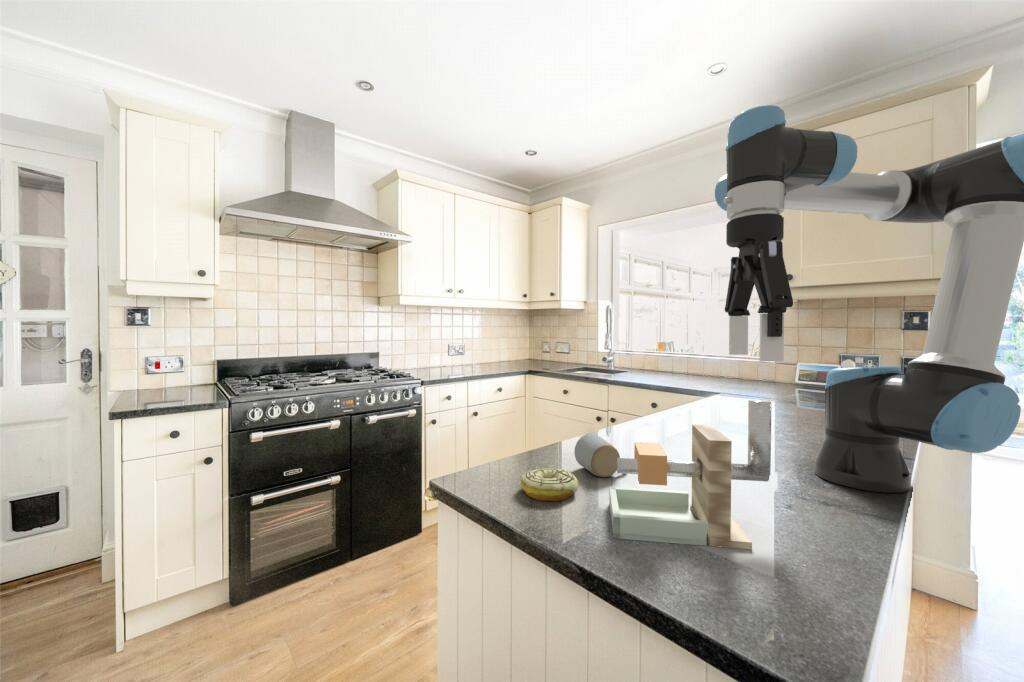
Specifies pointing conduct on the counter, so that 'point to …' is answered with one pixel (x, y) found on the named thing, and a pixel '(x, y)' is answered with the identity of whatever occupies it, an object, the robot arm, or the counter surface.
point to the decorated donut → (549, 484)
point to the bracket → (715, 488)
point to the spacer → (651, 463)
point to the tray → (654, 516)
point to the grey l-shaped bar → (752, 471)
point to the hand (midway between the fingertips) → (753, 357)
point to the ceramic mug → (596, 455)
